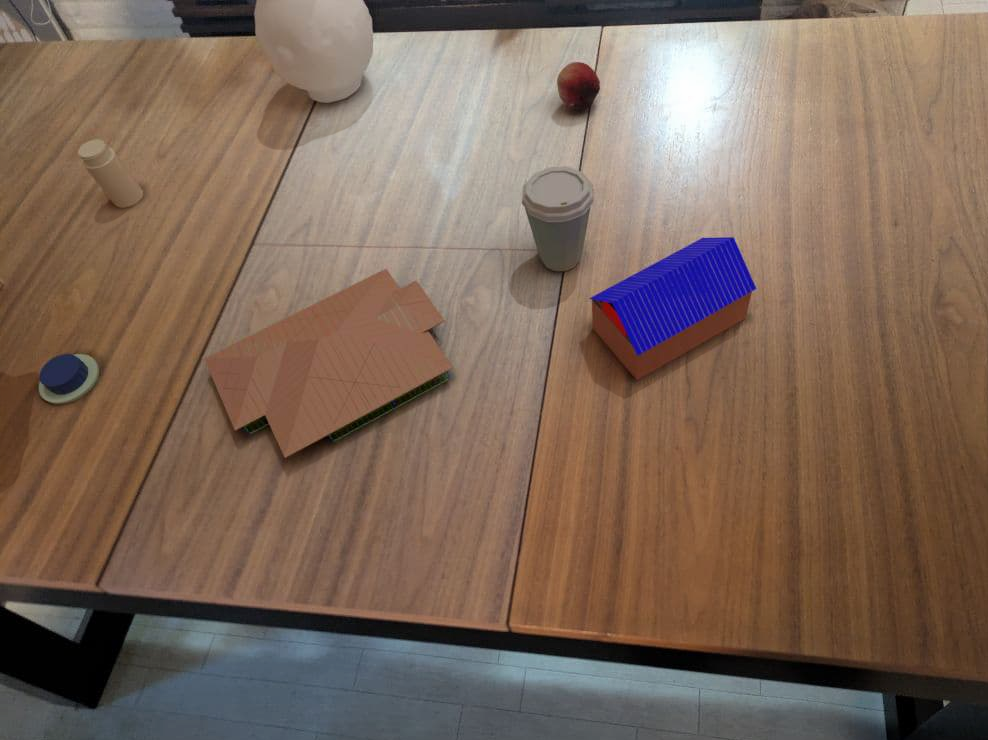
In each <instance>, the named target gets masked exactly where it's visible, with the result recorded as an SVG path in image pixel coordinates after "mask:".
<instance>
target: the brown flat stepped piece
mask: <svg viewBox="0 0 988 740" xmlns="http://www.w3.org/2000/svg"><path fill="white" fill-rule="evenodd" d="M445 322H446V321H445V319H444V318H443V316H442V315H441V314H440V312H439V311H438V309H437V308H436V306H435V304H434V303H433V302H432V300H431V299H430V298H429V296H428V295H427V293H426V291H425V290H424V289H423V288H422V286H421V285H420V283H419V282H418V280H414V281H412V282H410V283H408V284H406V285H403V286H402V287H400V286H399V285H398V283H397V282H396V281H395V279H394V277H393V275H391V272H390V271H389V270H388V269H387V268H383V269H382V270H380V271H378V272H376V273H374V274H372V275H370V276H368V277H366V278H364V279H362V280H360V281H358V282H356V283H354V284H352V285H349V286H347V287H346V288H344V289H342V290H340V291H338V292H335V293H333V294H332V295H330V296H328V297H325V298H323V299H321V300H319V301H317V302H316V303H313V304H311V305H309V306H307V307H306V308H305V307H304V308H303V309H301V310H299V311H298V312H295V313H293V314H291V315H289V316H287V317H285V318H283V319H281V320H279V321H277V322H275V323H272V324H271V325H269V326H266V327H265V328H262V329H261V330H258V331H257V332H255V333H252V334H251V335H249V336H247V337H244V338H243V339H241V340H238V341H237V342H235V343H232V344H231V345H229V346H227V347H225V348H223V349H221V350H218V351H216V352H214V353H213V354H211V355H209V356H206V357H204V362H205V364H206V366H207V369H208V371H209V373H210V376H211V378H212V380H213V383H214V385H215V387H216V390H217V392H218V394H219V396H220V399H221V401H222V404H223V406H224V408H225V411H226V413H227V416H228V418H229V421H230V423H231V425H232V427H233V430H234V432H237V431H238V430H240V429H243V430H244V432H246V433H247V435H251V434H253V433H255V432H257V431H259V430H261V429H263V428H264V427H266V426H268V425H269V426H270V429H271V431H272V434H273V435H274V438H275V440H276V442H277V444H278V446H279V448H280V450H281V453H282V455H283V457H284V459H286V458H288V457H290V456H292V455H294V454H297V453H298V452H299V451H301V450H303V449H305V448H307V447H309V446H311V445H312V444H314V443H317V442H319V441H321V440H322V439H324V438H325V437H328V438H329V439H330V440H331V442H332V443H335V442H336V441H338V440H340V439H341V438H344V437H345V436H347V435H349V434H351V433H352V432H354V431H356V430H358V429H360V428H362V427H364V426H365V425H367V424H369V423H372V422H373V421H375V420H376V419H378V418H380V417H383V416H384V415H386V414H388V413H389V412H391V411H393V410H395V409H397V408H399V407H401V406H402V405H404V404H406V403H408V402H410V401H412V400H414V399H415V398H417V397H419V396H421V395H422V394H424V393H426V392H428V391H430V390H432V389H434V388H436V387H437V386H440V385H441V384H443V383H445V382H446V381H448V380H450V376H449V373H448V371H450V370H452V369H454V367H453V365H452V364H451V362H450V360H449V359H448V358H447V357H446V354H445V353H444V352H443V351H442V349H441V347H440V346H439V345H438V343H437V341H436V340H435V339H434V337H433V336H432V334H431V333H430V330H431V329H433V328H435V327H437V326H439V325H441V324H442V323H445ZM444 375H446V377H447V378H445V376H444ZM441 376H442V377H443V381H442V379H441ZM438 378H439V381H440V382H439V383H438V384H437V382H436V379H438ZM432 381H434V383H435V385H434V386H432V385H431V382H432ZM427 384H429V386H430V388H428V389H427V387H426V385H427ZM423 386H424V388H425V391H423V392H422V390H421V387H423ZM418 389H419V391H420V392H421V393H419V394H417V392H416V390H418ZM412 392H414V394H415V396H413V397H412V395H411V393H412ZM407 395H409V396H410V399H408V400H407V397H406V396H407ZM403 397H404V398H405V400H406V401H405V402H403V403H402V402H400V403H401V404H399V405H397V403H396V401H397V400H400V399H401V398H403ZM391 403H393V405H394V407H393V406H392V404H391ZM388 405H390V407H391V409H390V407H389V406H388ZM385 406H387V408H388V410H387V411H386V412H385V410H384V408H383V407H385ZM381 409H382V411H383V413H381V415H380V413H379V410H381ZM374 412H377V413H378V416H377V417H375V416H374V414H373V413H374ZM369 415H372V416H373V418H372V419H371V420H370V419H369V418H368V416H369ZM363 418H367V420H368V421H367V422H366V423H365V421H363ZM264 419H266V420H267V422H268V423H267V424H265V423H264V422H263V421H262V420H264ZM360 420H361V421H362V422H363V424H362V425H359V424H358V421H360ZM259 421H260V422H261V423H262V424H263V426H261V427H260V425H258V424H257V423H258V422H259ZM354 423H356V424H357V426H358V427H356V428H354V427H353V425H352V424H354ZM254 424H255V425H256V426H257V427H258V428H257V429H254V428H253V426H252V425H254ZM349 426H351V428H352V429H353V430H351V431H349V430H348V428H347V427H349ZM248 427H250V428H251V429H252V430H253V431H251V432H250V431H249V429H248ZM343 429H346V431H347V433H345V434H344V433H343V432H342V430H343ZM338 432H341V434H342V435H341V436H339V435H337V433H338ZM333 434H335V435H336V437H337V438H336V439H333V437H332V435H333Z"/></svg>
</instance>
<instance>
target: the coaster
mask: <svg viewBox="0 0 988 740" xmlns="http://www.w3.org/2000/svg"><path fill="white" fill-rule="evenodd" d="M74 355H75V356H76V357H78V358H79V359H80V360H81V361H83V362H84V363H85V365H86V366H87V367H88V376H87V379H86V380H85V382H84V383H83V384H82V385H81V386H80V387H79V388H78V389H76V390H75V391H73V392H70V393H68V394H55V393H53V392H51V391H50V390H48V389H47V388H46V387H45V386H44V385H43V384H42V383H41V382H40V381H39V383H38V392H39V393H38V394H40V397H41V398H42V399H43V400H44V401H46V402H47V403H49V404H53V405H67V404H70V403H73V402H75V401H77V400H79V399H81V398H83V397H84V396H85V395H87V394H88V393H89V392H90V391H91V390H92V388H93V387H94V386H95V384H96V383H97V381H98V379H99V376H100V365H99V363H98V361H97V360H95V358H93V357H92V356H90V355H88V354H85V353H76V354H74Z"/></svg>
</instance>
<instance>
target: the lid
mask: <svg viewBox="0 0 988 740" xmlns="http://www.w3.org/2000/svg"><path fill="white" fill-rule="evenodd" d="M87 376H88V367H87V366H86V365H85V363H84V362H83V361H81V360H80V359H79V358H78V357H76V356H75V354H72V353H63V354H59V355H56V356H54V357H52V358H51V359H50V360H49V359H48V361H47V362H46V363H45V364H44V365H43V366H42V368H41V369H40V371H39V376H38V377H39V379H38V380H39V383H40V382H41V383H42V384H43V385H44V386H45V387H46V388H47V389H48V390H50V391H51V392H53V393H55V394H68V393H70V392H73V391H75V390H76V389H78V388H79V387H80V386H81V385H82V384H83V383H84V382H85V380H86V379H87Z"/></svg>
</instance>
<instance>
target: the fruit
mask: <svg viewBox="0 0 988 740" xmlns="http://www.w3.org/2000/svg"><path fill="white" fill-rule="evenodd" d="M556 84H557V92H558V95H559V98H560V100H561V101H562V103H563V104H564V105H565V106H566V107H568V108H570V109H571V110H579V111H581V110H583V111H584V110H586V109H588V108H589V107H591V106H592V104H593V103H594V102H595V99H596V97H597V96H598V94H599V93H600V90H601V81H600V79H599V76H598V75H597V73H596V71H595V70H594V69H593V68H592V67H591V66H590V65H589V64H587V63H585V62H581V61H572V62H570V63H568V64H566V66H564V67H563V68H562V70H561V71H560V72H559V74H558V75H557V79H556Z"/></svg>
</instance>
